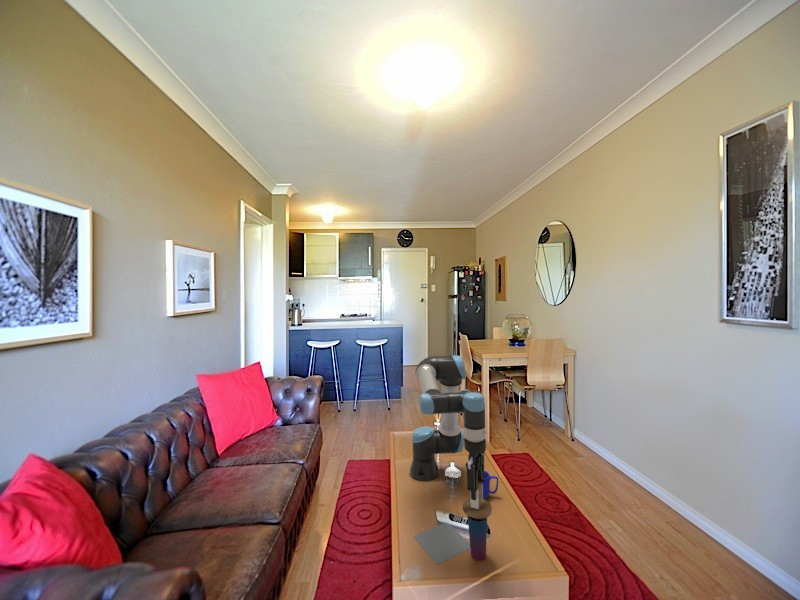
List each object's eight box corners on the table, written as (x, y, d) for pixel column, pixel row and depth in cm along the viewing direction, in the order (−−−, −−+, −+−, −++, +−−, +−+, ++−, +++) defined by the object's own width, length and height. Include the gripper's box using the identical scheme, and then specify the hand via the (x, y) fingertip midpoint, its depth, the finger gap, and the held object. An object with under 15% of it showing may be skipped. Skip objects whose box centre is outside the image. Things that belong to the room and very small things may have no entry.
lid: (457, 506, 122) (456, 481, 122) (478, 498, 127) (477, 473, 127) (475, 522, 113) (474, 494, 113) (497, 512, 118) (497, 486, 118)
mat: (413, 539, 131) (413, 536, 131) (447, 524, 138) (446, 522, 138) (437, 567, 117) (436, 564, 117) (473, 549, 124) (473, 546, 124)
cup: (466, 551, 123) (465, 510, 123) (484, 549, 124) (483, 508, 124) (471, 566, 117) (470, 522, 117) (491, 564, 117) (489, 521, 117)
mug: (499, 502, 152) (499, 480, 152) (472, 500, 155) (471, 478, 155) (498, 492, 160) (497, 470, 160) (472, 489, 163) (471, 469, 163)
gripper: (477, 449, 111) (479, 521, 111) (492, 431, 125) (494, 494, 125) (455, 445, 115) (457, 514, 115) (472, 428, 129) (474, 489, 129)
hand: (476, 503), depth 120 cm, fingers closed on lid, 4 cm apart
